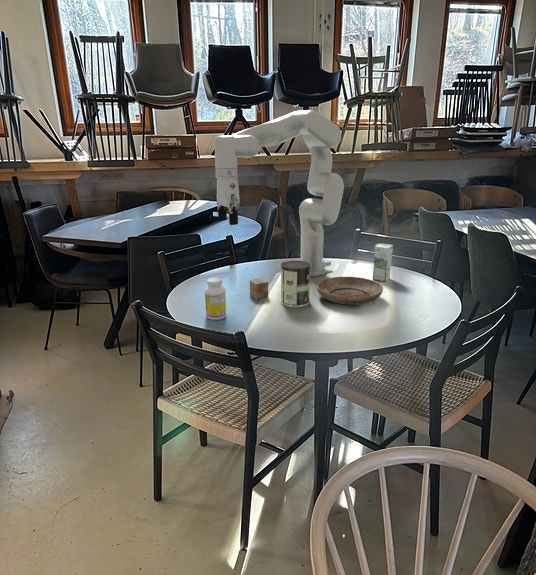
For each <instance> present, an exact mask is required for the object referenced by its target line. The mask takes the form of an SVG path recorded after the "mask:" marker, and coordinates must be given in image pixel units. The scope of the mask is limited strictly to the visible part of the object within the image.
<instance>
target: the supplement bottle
mask: <svg viewBox="0 0 536 575" xmlns="http://www.w3.org/2000/svg"><path fill="white" fill-rule="evenodd" d="M206 282H207V284H206V285H207V286H206V288H205V289H204V300H205V301H204V302H205V303H204V304H205V315H206V318H207V319H209V320H213V321H219V320H222V319H225V317H226V316H227V302H226V301H227V300H226V299H227V298H226V297H227V296H226V287H225V286H223V285H222V284H223V279H222V278H220V277H210V278H207V280H206Z"/></svg>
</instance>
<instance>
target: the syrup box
mask: <svg viewBox="0 0 536 575" xmlns="http://www.w3.org/2000/svg"><path fill="white" fill-rule="evenodd" d="M393 249H394V245H393V244H389V243H388V244H386V243H377V244H375V245H374V258H373V260H374V262H373V271H372V272H373V273H372V280H373V281H379V282H384V283H385V282H388V281H389V280H390V279H391V270H392V269H391V267H392V258H393ZM389 278H390V279H389ZM388 279H389V280H388Z"/></svg>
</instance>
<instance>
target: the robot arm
mask: <svg viewBox="0 0 536 575" xmlns="http://www.w3.org/2000/svg"><path fill="white" fill-rule="evenodd" d="M301 135H302V138H303V142H304V144H305V146H306V147H307V149H308V150H309V153H310V157H311V160H310V167H309V172H308V173H309V174H308V178H307V184H306V185H307V186H306V187H307V191H308V193H309V194H311V195H313V196H316V197H317V196H318V197H322V199H319V198H313V197H311V198H306V199H304V200H303V201H302V202H300V205H299V207H298V208H299V209H298V215H299V221H300V256H299V257H300V259H299V261H304V262H307V263H310V265H311V266H310V277H319V276H323V275H325V274H326V273H327V272H326V268H327V267H329V266H331V265H332V262H331V261H330V260H329V261H325V260H324V259H323V258H324V228H323V227H324V226H331V225H333V224H334V223H335V222H336V221H337V220H338V217H339V215H340V214H339V213H340V210H341V205H342V199H343V194H344V189H345V184H344V180H343V178H342V176H341V175H340V174H338V173H336V172H335V173H334V172H332V168H333V155H332V152H331V149H334V148H336V147H337V146H338V145H339V144H340V142H341V140H342V132H341V129H340V128H339V126H338V125H337V124H336V123H334V122H333V121H331V120H330V119H328V117H326V116H324V115H322V114H321V113H320V112H318V111H316V110H313V109H306V110H297V111H292V112H290V113H287V114H285V115H283V116H280V117H277V118H275V119H273V120H270V121H267V122H265V123H261V124H259V125H258V124H257V125H255V126H252V127H249V128H246V129H243V130H241V131H238V132H236V133H234V134H231V135H217V136H215V138H214V166H215V179H216V205H217V220H218V221H222V222H223V221H227V219H228V223H229V226H236V225H237V226H238V225H239V209H240V204H241V202H240V201H241V200H240V199H241V198H240V188H239V180H238V158H245V159H246V158H247V159H249V158H254V157H256V156H257V155H258V154H259V153H260V149H261V148H266V147H274V146H277V145H278V146H279V145H280V144H283V143H285V142H287V141H289V140H292V139H294V138H296V137H298V136H301ZM227 208H228V210H227ZM228 211H229V213H227V212H228ZM227 214H228V215H227ZM227 217H228V218H227ZM323 225H324V226H323Z"/></svg>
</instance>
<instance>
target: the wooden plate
mask: <svg viewBox="0 0 536 575" xmlns="http://www.w3.org/2000/svg"><path fill="white" fill-rule="evenodd" d="M316 291H317V293H318V294H319V295H320V297H323V298H324V299H327V300H328V301H330V302H333V303H337V304H341V305H348V306H349V305H353V306H354V305H365V304H368V303H372V302H374V301H375V300H377V299H379V297H380V296H381V295H382V294H383V291H384V287H383V285H382V284H381V283H379V282H377V281H376V280H373V279H369V278H366V277H358V276H335V277H330V278H325V279H322V280H321V281H319V282H318V283H317V285H316Z"/></svg>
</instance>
